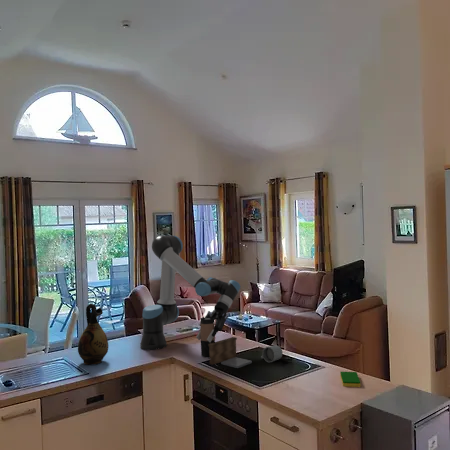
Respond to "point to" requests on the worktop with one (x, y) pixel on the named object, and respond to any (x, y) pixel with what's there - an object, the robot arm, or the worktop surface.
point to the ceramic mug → (272, 353)
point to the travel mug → (206, 334)
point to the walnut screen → (222, 350)
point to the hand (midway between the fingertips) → (203, 339)
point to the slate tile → (236, 362)
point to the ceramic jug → (93, 338)
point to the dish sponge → (350, 379)
